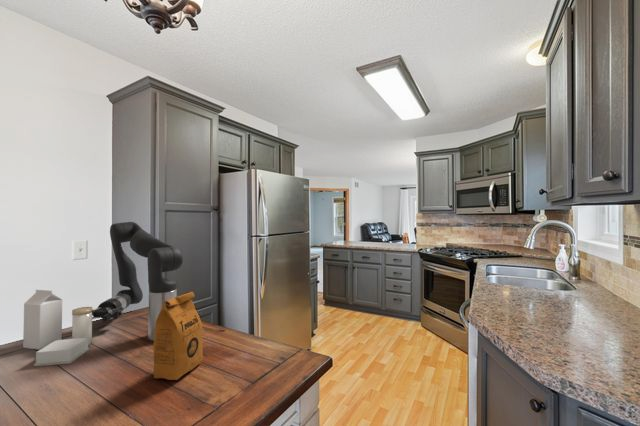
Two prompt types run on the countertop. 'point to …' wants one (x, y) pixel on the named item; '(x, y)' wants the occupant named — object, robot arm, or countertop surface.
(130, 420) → the countertop surface
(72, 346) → the riser
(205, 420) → the countertop surface
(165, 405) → the countertop surface
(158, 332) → the coffee package
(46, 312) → the milk carton
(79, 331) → the jar
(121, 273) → the robot arm
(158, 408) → the countertop surface
